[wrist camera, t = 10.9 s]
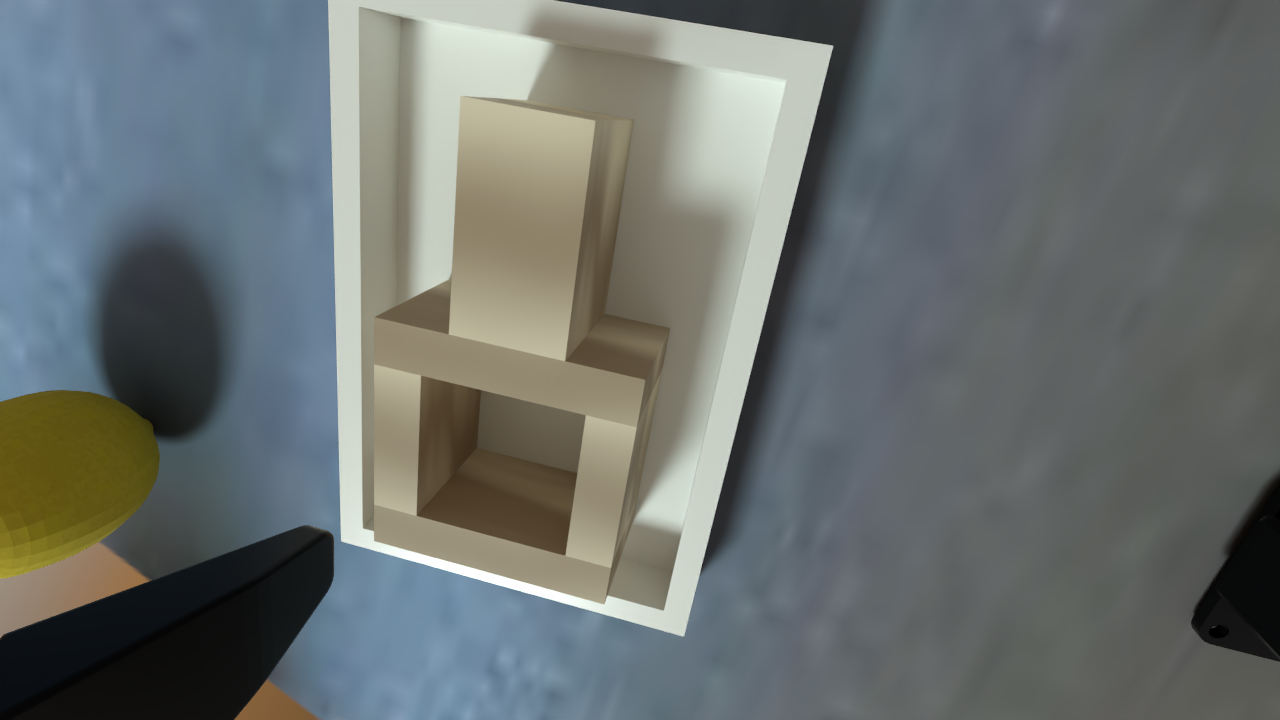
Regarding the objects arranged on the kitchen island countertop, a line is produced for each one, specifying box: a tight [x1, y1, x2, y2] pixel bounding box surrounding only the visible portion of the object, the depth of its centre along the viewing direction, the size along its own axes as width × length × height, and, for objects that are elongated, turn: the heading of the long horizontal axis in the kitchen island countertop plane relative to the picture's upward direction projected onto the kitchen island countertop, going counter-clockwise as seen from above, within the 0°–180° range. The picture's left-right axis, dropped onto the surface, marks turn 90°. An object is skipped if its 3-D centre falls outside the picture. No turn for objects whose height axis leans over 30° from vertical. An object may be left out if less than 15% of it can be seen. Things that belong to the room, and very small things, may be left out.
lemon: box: [0, 390, 160, 578], centre depth 21 cm, size 6×6×8 cm
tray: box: [328, 0, 833, 636], centre depth 19 cm, size 17×12×2 cm
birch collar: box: [374, 96, 670, 604], centre depth 18 cm, size 12×7×4 cm, turn 171°
